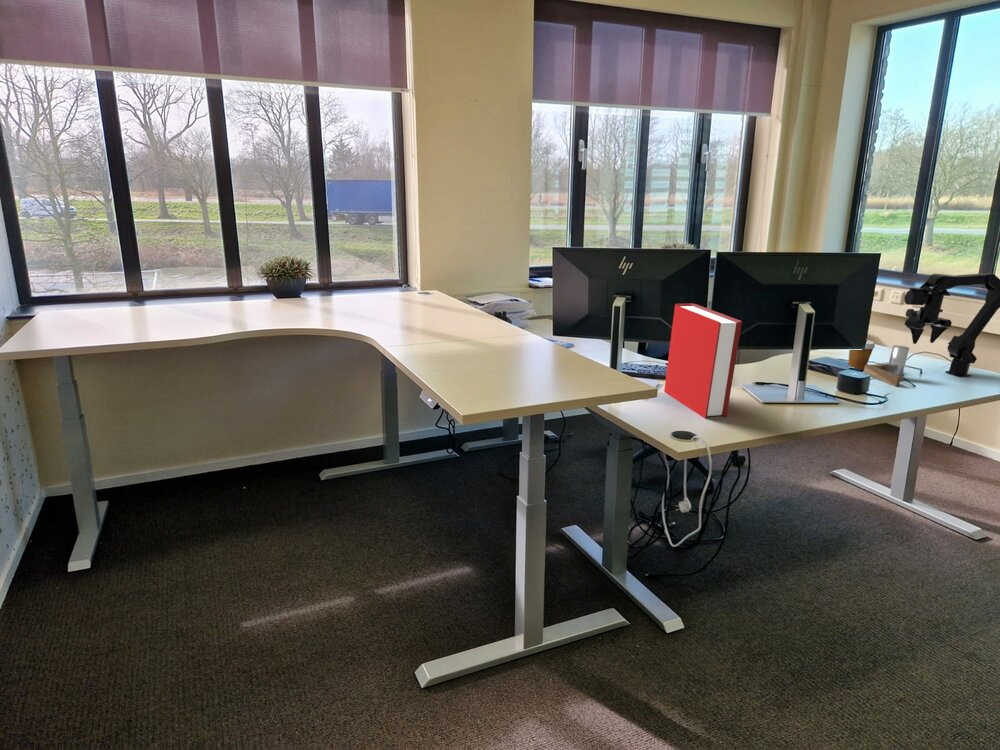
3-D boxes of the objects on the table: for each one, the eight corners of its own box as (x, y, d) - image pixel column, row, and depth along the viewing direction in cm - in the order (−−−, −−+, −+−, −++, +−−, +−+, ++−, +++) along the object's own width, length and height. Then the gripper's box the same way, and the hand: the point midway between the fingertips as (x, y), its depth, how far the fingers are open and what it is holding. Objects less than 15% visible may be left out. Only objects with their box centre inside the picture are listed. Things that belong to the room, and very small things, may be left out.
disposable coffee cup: (853, 372, 258) (859, 344, 254) (838, 365, 267) (844, 338, 263) (874, 372, 259) (881, 344, 255) (859, 365, 268) (865, 338, 264)
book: (726, 417, 204) (741, 321, 194) (705, 418, 202) (719, 321, 192) (681, 389, 229) (693, 303, 219) (662, 390, 227) (673, 303, 217)
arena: (892, 372, 260) (894, 363, 259) (926, 384, 245) (929, 375, 244) (863, 373, 256) (865, 364, 255) (895, 386, 242) (898, 376, 240)
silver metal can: (893, 375, 256) (900, 344, 252) (906, 380, 250) (914, 349, 246) (880, 376, 254) (887, 345, 250) (893, 381, 248) (901, 349, 244)
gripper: (931, 301, 263) (922, 337, 267) (897, 302, 257) (888, 339, 262) (957, 306, 252) (946, 344, 257) (922, 308, 247) (912, 346, 252)
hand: (922, 343), depth 257 cm, fingers open, 9 cm apart
